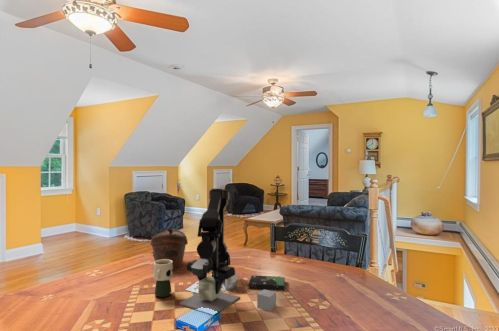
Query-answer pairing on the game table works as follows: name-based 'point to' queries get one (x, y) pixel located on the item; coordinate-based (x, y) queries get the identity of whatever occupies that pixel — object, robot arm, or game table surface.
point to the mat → (210, 302)
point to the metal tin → (231, 283)
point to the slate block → (266, 300)
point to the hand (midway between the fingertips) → (210, 292)
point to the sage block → (208, 289)
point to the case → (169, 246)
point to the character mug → (163, 277)
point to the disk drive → (267, 283)
